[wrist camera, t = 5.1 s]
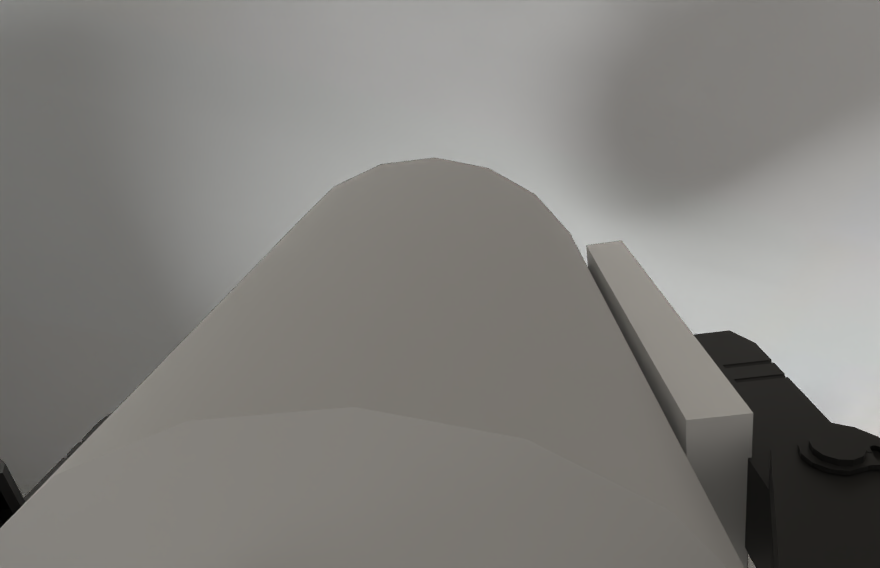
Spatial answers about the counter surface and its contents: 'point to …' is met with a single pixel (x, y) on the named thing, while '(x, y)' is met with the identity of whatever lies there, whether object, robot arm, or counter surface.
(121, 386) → the counter surface
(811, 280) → the counter surface
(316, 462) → the can
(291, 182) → the counter surface
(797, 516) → the robot arm
